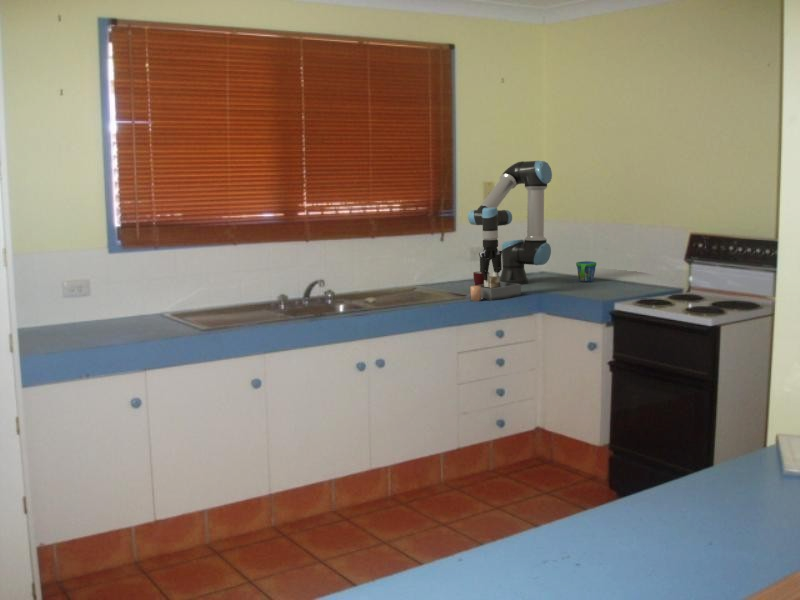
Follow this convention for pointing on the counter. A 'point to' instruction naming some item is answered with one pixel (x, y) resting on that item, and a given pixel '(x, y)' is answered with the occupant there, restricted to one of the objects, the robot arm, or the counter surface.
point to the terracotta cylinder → (476, 293)
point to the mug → (478, 278)
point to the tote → (500, 291)
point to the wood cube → (492, 282)
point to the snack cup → (586, 271)
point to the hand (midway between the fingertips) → (491, 286)
